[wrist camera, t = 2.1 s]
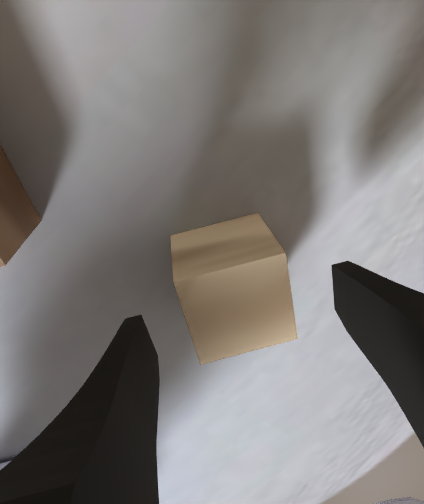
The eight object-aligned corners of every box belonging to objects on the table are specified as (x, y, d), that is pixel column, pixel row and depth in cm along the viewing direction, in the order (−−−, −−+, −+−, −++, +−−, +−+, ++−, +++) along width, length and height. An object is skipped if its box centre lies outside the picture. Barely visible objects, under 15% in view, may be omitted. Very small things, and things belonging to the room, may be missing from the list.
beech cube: (270, 284, 18) (297, 338, 14) (192, 305, 18) (200, 364, 14) (257, 212, 16) (285, 252, 12) (170, 234, 16) (173, 282, 12)
